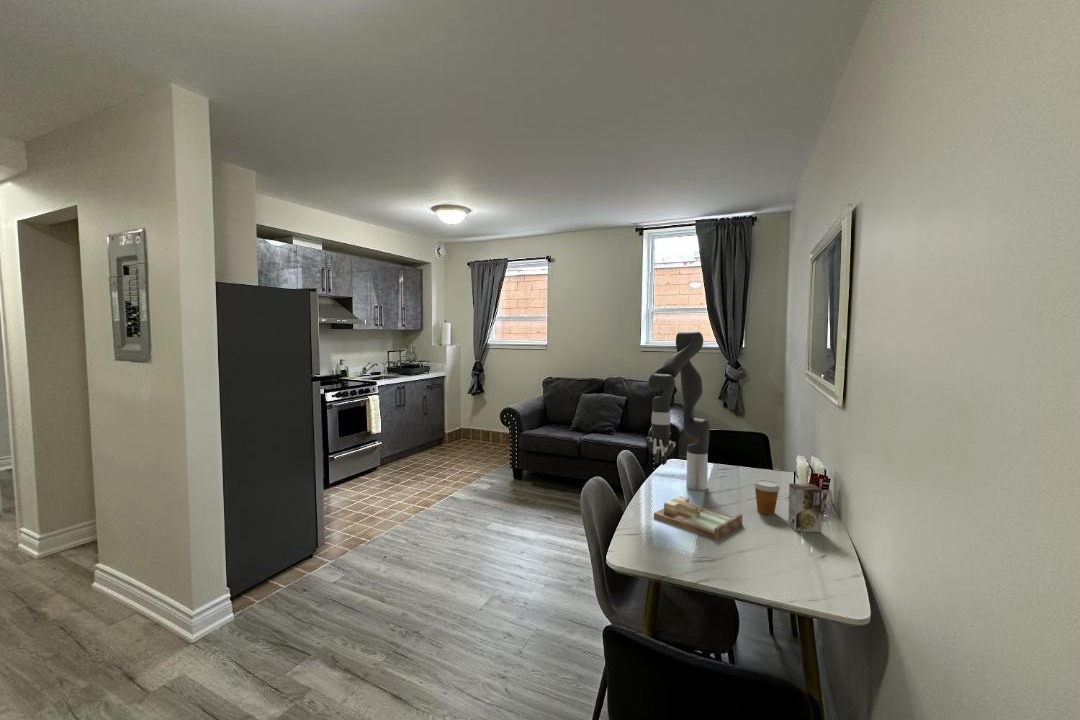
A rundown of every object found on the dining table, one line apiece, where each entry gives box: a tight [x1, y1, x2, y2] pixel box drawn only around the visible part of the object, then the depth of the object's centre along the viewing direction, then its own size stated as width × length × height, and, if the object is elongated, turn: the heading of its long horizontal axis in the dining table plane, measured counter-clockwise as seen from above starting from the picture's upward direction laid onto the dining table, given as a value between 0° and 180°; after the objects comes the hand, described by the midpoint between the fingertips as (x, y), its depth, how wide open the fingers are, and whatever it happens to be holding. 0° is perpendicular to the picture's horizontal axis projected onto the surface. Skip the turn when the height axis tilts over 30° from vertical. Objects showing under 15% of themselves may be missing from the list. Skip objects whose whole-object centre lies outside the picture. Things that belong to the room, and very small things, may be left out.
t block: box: [663, 495, 701, 517], centre depth 177 cm, size 12×11×4 cm
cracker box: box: [787, 483, 823, 533], centre depth 167 cm, size 9×6×16 cm
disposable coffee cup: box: [753, 479, 780, 516], centre depth 183 cm, size 10×10×12 cm
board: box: [653, 506, 743, 541], centre depth 173 cm, size 20×26×4 cm
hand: (660, 463), depth 185 cm, fingers closed
